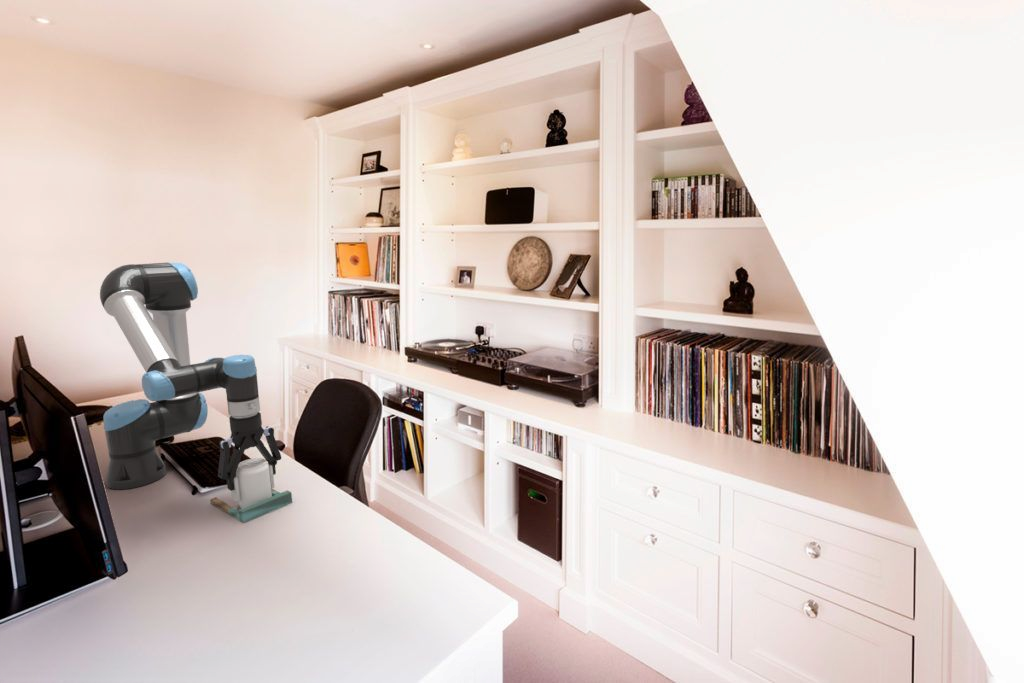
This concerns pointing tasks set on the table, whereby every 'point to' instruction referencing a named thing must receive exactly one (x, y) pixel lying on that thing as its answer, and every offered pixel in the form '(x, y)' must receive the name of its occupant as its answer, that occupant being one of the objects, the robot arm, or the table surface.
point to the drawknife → (255, 506)
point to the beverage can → (253, 481)
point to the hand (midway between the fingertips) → (253, 493)
